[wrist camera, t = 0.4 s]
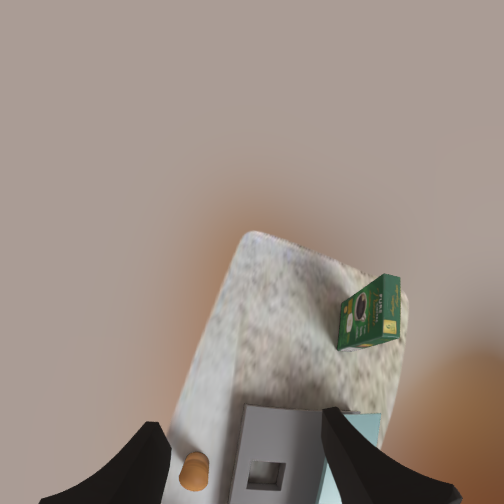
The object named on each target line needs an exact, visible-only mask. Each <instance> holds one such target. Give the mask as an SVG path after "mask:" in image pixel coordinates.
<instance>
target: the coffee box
mask: <svg viewBox="0 0 504 504" xmlns="http://www.w3.org/2000/svg"><path fill="white" fill-rule="evenodd" d="M400 315H401V287H400V277H397V276H393V275H389V274H382V275H381V276H379V277H378V278H377V279H375V280H374V281H373V282H371V283H370V284H368V285H367V286H366V287H364V288H363V289H361V290H360V291H359V292H357V293H356V294H354V295H353V296H351V297H350V298H348V299H347V300H345V301H344V302H343V303H342V306H341V318H340V328H339V337H338V346H337V350H338V351H350V352H352V351H356V350H360V349H363V348H367V347H371V346H374V345H378V344H381V343H385V342H388V341H391V340H395V339H398V338H400Z"/></svg>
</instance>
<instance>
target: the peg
mask: <svg viewBox="0 0 504 504" xmlns="http://www.w3.org/2000/svg"><path fill="white" fill-rule="evenodd" d="M208 473H209V460H208V458H207V456H206V455H204V454H202V453H200V452H193V453H190V454H189V455H188V456H187V457H186V460H185V462H184V465H183V468H182V470H181V473H180V475H179V481H180V484H181V485H182V486H183V487H184V488H185V489H187V490H190V491H200V490H203V489H204V488H205V487H206V486H207V484H208Z"/></svg>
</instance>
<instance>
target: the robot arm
mask: <svg viewBox="0 0 504 504" xmlns="http://www.w3.org/2000/svg"><path fill="white" fill-rule="evenodd" d="M321 440H322V444H323V449H324V453H325V457H326V459H327V462H328V465H329V468H330V470H331V473H332V476H333V478H334V481H335V483H336V486H337V489H338V491H339V495H340V498H341V502H342V504H460V503H461V501H462V499H463V498H462V496H461V495H460V493H459V492H458V490H457V489H456V488H455V487H454V485H453V484H449V483H445V482H442V481H438V480H435V479H432V478H429V477H427V476H424V475H422V474H419V473H417V472H415V471H413V470H411V469H409V468H407V467H405V466H403V465H401V464H400V463H398V462H396V461H395V460H393V459H392V458H390V457H389V456H387V455H386V454H384V453H383V452H382V451H380V450H379V449H378V448H377V447H375V446H374V445H373V444H372V443H371V442H370V441H368V440H367V439H366V438H365V437H364V436H363V435H362V434H361V433H360V432H359V431H358V430H357V429H356V428H355V427H354V426H353V425H352V424H351V423H350V422H349V421H348V419H347V418H346V417H345V416H344V415H343V413H342V412H341V411H340V410H339V408H338V407H332V408H327V409H322V426H321ZM171 450H172V448H171V446H170V444H169V442H168V440H167V438H166V436H165V435H164V433H163V430H162V428H161V426H160V425H159V422H145V424H144V425H143V426H142V427H141V428H140V429H139V430H138V432H137V433H136V434H135V435H134V436H133V437H132V438H131V440H130V441H129V442H128V443H127V444H126V445H125V446H124V447H123V448H122V449H121V451H120V452H119V453H118V454H117V455H116V456H115V457H114V458H112V459H111V460H110V461H109V462H108V463H107V464H106V465H105V466H104V467H102V468H101V469H100V470H99V471H97V472H96V473H95V474H94V475H92V476H91V477H89V478H87V479H86V480H84V481H83V482H81V483H79V484H78V485H76V486H74V487H72V488H70V489H68V490H65V491H63V492H61V493H58V494H55V495H52V496H49V497H46V498H42V499H41V500H40V502H39V504H161V500H162V496H163V492H164V488H165V484H166V480H167V476H168V472H169V468H170V460H171Z"/></svg>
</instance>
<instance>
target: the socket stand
mask: <svg viewBox="0 0 504 504" xmlns="http://www.w3.org/2000/svg"><path fill="white" fill-rule="evenodd" d="M341 412H342V413H343V415H344V416H345V417H346V418H347V419H348V421H349V422H350V423H351V424H352V425H353V426H354V427H355V428H356V429H357V430H358V431H359V432H360V433H361V434H362V435H363V436H364V437H365V438H366V439H367V440H368V441H370V442H371V443H372V444H373V445H374V446H375V447H376V445H377V439H378V433H379V426H380V418H381V413H370V414H360V412H359V411H341ZM321 426H322V410H303V409H288V408H277V407H267V406H258V405H250V404H244V410H243V416H242V423H241V429H240V435H239V440H238V446H237V452H236V458H235V464H234V470H233V475H232V481H231V486H230V492H229V498H228V503H227V504H342V502H341V498H340V495H339V491H338V489H337V486H336V483H335V481H334V478H333V476H332V473H331V470H330V468H329V465H328V462H327V459H326V457H325V453H324V449H323V444H322V440H321ZM251 461H262V462H279V463H280V467H279V472H278V478H277V483H276V484H260V483H247V482H248V476H249V471H250V465H251Z"/></svg>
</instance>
